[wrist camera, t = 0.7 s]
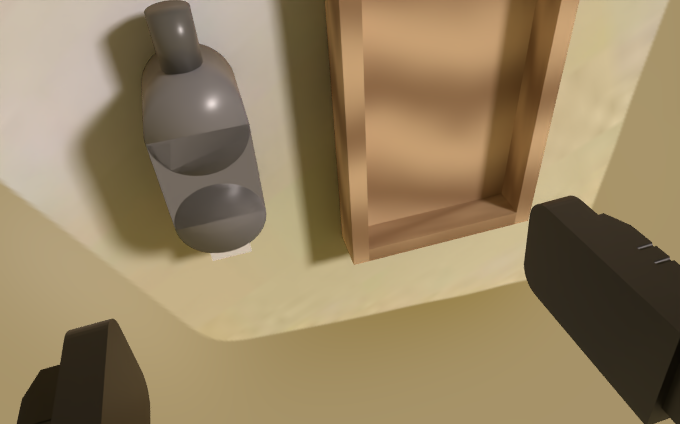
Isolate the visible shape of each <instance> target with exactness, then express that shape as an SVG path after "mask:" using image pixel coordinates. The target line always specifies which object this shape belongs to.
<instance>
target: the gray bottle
mask: <svg viewBox="0 0 680 424" xmlns="http://www.w3.org/2000/svg"><path fill="white" fill-rule="evenodd" d="M144 14H145V18H146V21H147V24H148V28H149V31H150V34H151V38H152V41H153V44H154V48H155V51H156V54H155V55H154V56H152V57H151V59H150V60H149V61H148V63H147V64H146V66H145V68H144V71H143V74H142V82H141V86H142V110H143V133H144V141H145V144H146V147H147V150H148V153H149V156H150V159H151V161H152V164H153V167H154V170H155V173H156V176H157V179H158V181H159V184H160V187H161V190H162V193H163V196H164V198H165V201H166V204H167V207H168V210H169V213H170V216H171V218H172V221H173V224H174V227H175V230H176V232H177V234H178V236H179V237H180V239H181V240H182V241H183V242H184V243H185V244H187V245H188V246H190V247H191V248H193V249H196V250H199V251H202V252H207V253H211V256H212V259H213V261H215V260H219V259H223V258H227V257H231V256H235V255H239V254H244V253H248V252H252V249H251V245H250V242H251V241H252V240H254V239H255V238H256V237H257V236H258V234H259V233H260V232H261V230H262V229H263V227H264V224H265V221H266V208H265V203H264V198H263V193H262V188H261V183H260V178H259V172H258V167H257V162H256V157H255V152H254V147H253V142H252V136H251V131H250V126H249V122H248V118H247V115H246V112H245V108H244V105H243V102H242V99H241V96H240V92H239V89H238V86H237V83H236V80H235V76H234V73H233V71H232V68H231V66H230V65H229V63H228V62H227V61H226V59H225V58H224V57H223V56H222V55H221V54H219V53H218V52H217V51H215V50H214V49H212V48H210V47H208V46H205V45H202V44H199V42H198V38H197V34H196V30H195V26H194V21H193V17H192V13H191V9H190V5H189V3H187V2H185V1H181V0H168V1H162V2H158V3H155V4H153V5H151V6H149V7H147V8H146V9H145V11H144Z"/></svg>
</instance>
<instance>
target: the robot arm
mask: <svg viewBox="0 0 680 424" xmlns="http://www.w3.org/2000/svg"><path fill="white" fill-rule="evenodd" d="M524 270H525V275H526V278H527V281H528V284H529V286H530V288H531V289H532V291H533V292H534V294H535V295H536V296H537V297H538V299H539V300H540V301H541V302H542V303H543V305H544V306H545V307H546V308H547V309H548V310H549V312H550V313H551V314H552V315H553V316H554V317H555V319H556V320H557V321H558V322H559V324H560V325H561V326H562V327H563V328H564V329H565V331H566V332H567V333H568V334H569V335H570V337H571V338H572V339H573V340H574V341H575V342H576V344H577V345H578V346H579V347H580V348H581V350H582V351H583V352H584V353H585V354H586V355H587V357H588V358H589V359H590V360H591V361H592V363H593V364H594V365H595V366H596V367H597V368H598V370H599V371H600V372H601V373H602V374H603V376H605V378H606V379H607V380H608V382H609V383H610V384H611V385H612V386H613V387H614V389H615V390H616V391H617V392H618V394H619V395H620V396H621V397H622V398H623V399H624V401H626V403H627V404H628V405H629V407H630V408H631V409H632V410H633V411H634V412H635V414H636V415H637V416H638V417H639V418H640V420H641V421H642V422H643V423H644V424H654V423H657V422H660V421H662V420H665V419H668V418H671V419H672V420H673V421H674V422H675V423H676V424H680V265H679V264H678V263H677V262H676V261H671V260H670V257H669V256H668V255H667V254H666V253H664V252H663V251H662V250H661V249H659V248H658V247H657V246H655V247H654V246H653V245H652V242H651V241H650V240H648V239H647V238H645V236H643V235H642V234H641V233H640V232H639V231H637V230H636V229H635V228H633V227H632V226H631V225H629V224H627V223H624V222H622V221H619V220H618V219H615V218H613V217H611V216H608V215H606V214H604V213H603V214H600V215H598V214H597V213H595V212H594V211H593V210H592V209H591V208H589V207H588V206H587V205H586V204H585V203H584V202H582V201H581V200H580V199H579V198H577V197H575V196H567V197H563V198H559V199H556V200H552V201H548V202H545V203H541V204H537V205H535V206H534V207H533V208H532V210H531V212H530V219H529V227H528V235H527V243H526V252H525V260H524ZM17 424H150V401H149V395H148V389H147V385H146V382H145V378H144V375H143V373H142V371H141V369H140V367H139V365H138V363H137V361H136V359H135V357H134V355H133V353H132V350H131V349H130V346H129V345H128V342H127V340H126V338H125V336H124V334H123V332H122V330H121V328H120V326H119V324H118V323H117V321H116V320H114V319H109V320H105V321H102V322H98V323H94V324H91V325H87V326H84V327H80V328H76V329H72V330H69V331H68V332H67V333H66V335H65V338H64V343H63V350H62V356H61V362H60V365H57V366H53V367H50V368H47V369H43V370H40V372H39V374H38V375H37V377H36V378H35V380H34V381H33V383H32V384H31V386H30V388H29V389H28V391H27V392H26V394H25V396H24V397H23V398H22V402H21V407H20V411H19V416H18V420H17Z"/></svg>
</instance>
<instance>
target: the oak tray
mask: <svg viewBox="0 0 680 424" xmlns="http://www.w3.org/2000/svg"><path fill="white" fill-rule="evenodd" d="M578 4H579V0H325V11H326V24H327V38H328V51H329V65H330V78H331V92H332V105H333V119H334V132H335V146H336V159H337V173H338V186H339V200H340V213H341V227H342V238H343V240H344V242H345V245H346V247H347V249H348V252H349V254H350V256H351V259H352V261H353V263H354V265H355V264H359V263H363V262H367V261H371V260H375V259H379V258H383V257H387V256H391V255H394V254H398V253H402V252H406V251H410V250H414V249H418V248H422V247H426V246H430V245H434V244H438V243H442V242H446V241H450V240H453V239H457V238H461V237H465V236H469V235H473V234H477V233H481V232H485V231H489V230H493V229H497V228H501V227H505V226H509V225H512V224H516V223H520V222H524V221H528V219H529V214H530V210H531V206H532V201H533V197H534V193H535V188H536V184H537V180H538V176H539V171H540V167H541V163H542V158H543V154H544V150H545V146H546V141H547V137H548V133H549V128H550V124H551V120H552V116H553V111H554V107H555V103H556V98H557V94H558V90H559V85H560V81H561V77H562V73H563V68H564V64H565V60H566V55H567V51H568V47H569V43H570V38H571V34H572V30H573V25H574V21H575V17H576V13H577V8H578Z"/></svg>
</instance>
